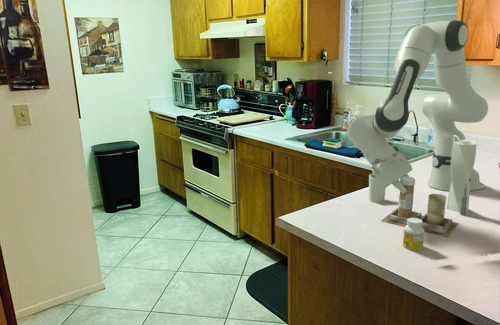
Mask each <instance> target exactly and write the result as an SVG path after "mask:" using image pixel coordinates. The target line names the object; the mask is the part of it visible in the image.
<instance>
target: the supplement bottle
mask: <svg viewBox="0 0 500 325" xmlns="http://www.w3.org/2000/svg"><path fill="white" fill-rule="evenodd" d="M403 228H404V229H403V239H402V240H403V241H402V246H403V248H405V249H406V250H409V251H413V252H420V251H422V250H423V248H424V241H425V232H424V229H423V227H422V220H420V219H418V218H409V219H407V225H406V226H405V227H403Z"/></svg>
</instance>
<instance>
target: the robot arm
mask: <svg viewBox="0 0 500 325" xmlns="http://www.w3.org/2000/svg"><path fill="white" fill-rule="evenodd" d="M468 40H469V28H468V25H467V24H466V23H465V22H464V21H462V20H456V19H453V20H439V21H438V20H437V21H433V22H427V23H423V24H415V25H413V26H411V27H410V28H408V30H406V33H405V34H404V38H403V40H402V42H401V44H400V46H399V48H398V51H397V53H396V56H395V59H394V64H393V73H394V74H395V78H394V80H393V83H392V86H391V88H390V90H389V93H388V95H387V97H386V98H385V99H384V100H383V101H381V103H380V104H378V106H377V108H376V110H375V112H374V113H373V112H372V113H369V114H357V115H356V116H355V117H354V118H352V119H351V121H350V122H348V125H347V127H346V133H347V135H348V137H349V139H350V141H351V142H352V143H353V144H354V146H355V147H356V148H357V149H358V150H360V151H361V152H362V154H363V156H364V159H366V160H367V162H368V163H369V165H370V168H371V171H372V174H374V176H375V177H376V179H377V180H378V182H379V183H380V184H381V185H382V186H383V187H384V188H388V187H390V185H392V186H393V187H394V188H396V189H397V190H399V192H400V191H401V192H402V193H405V192H407V191H408V189H407V188H406V186H403V185H402V184H401V183H400V178H401V177H410V176H409V175H408V174H409V173H411V171H413V167H412V165H411V163H410V162H409V160H408V159H407V158H406V157H405V156H404V155H403V153H401V149H400V148H399V147H398V146H396V145H392V144H389V143H388V141H387V140H389V139H392V138H394V137H396V136H397V135H399V133H400V131H401V130H402V128H404V126H406V124H407V123H408V121H409V116H410V112H409V111H410V110H409V100H410V97H411V94H412V92H413V88H414V86H415V84H416V81H417V80H419V79H421V78H422V76H423V75H424V72H425V71H426V69H427V68H428V66H429V63H430V60H431V58H432V55H433V58H432V59H433V68H434V77H435V78H434V79H435V80H434V81H435V84H436V85H437V86H438V87H439V88H441V89H442V90H443V91H444V92H446V93H443V92H442V93H440V92H439V93H434V94H428V95H427V96H426V97H425V98H424V100H423V101H422V105H421V110H422V113H423V115H424V116H425V117H426V118H427V119H428V120H429V122H430V123H431V125H432V127H433V131H434V152H433V153H432V167H431V172H430V176H429V178H428V181H427V186H428V187H431V188H433V189H435V190H441V191H445V192H447V191H448V192H449V190H450V185H451V181H452V179H451V155H452V147H453V136H454V135H456V136H458V138H459V139H460V140H466V137H465V136H466V135H464V133H463V132H462V131H460V130H459V129H458V128H457V127H456V125H455V122H456V123H463V124H466V123H467V124H470V123H471V124H472V123H479V122H481V121H483V120H484V119H485V118H486V116H487V115H488V112H489V104H488V102H487V100H486V98H484V97H482V96H481V95H480V94H478V92H476V91H475V89H474V88H473V86H472V85H471V83H470V80H469V77H468V72H467V64H466V63H467V61H466V52H465V45H466V44H467V42H468ZM458 138H457V137H455V142H459V141H458ZM480 181H481V180H480V174H479V172H478V170H476V169H475V168H473V171H472V174H471V176H470V179H469V192H470V191H477V190H478V191H479V190H483V189H486V185H485V184H484V183H482V182H480Z"/></svg>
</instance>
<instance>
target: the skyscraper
mask: <svg viewBox="0 0 500 325" xmlns="http://www.w3.org/2000/svg"><path fill="white" fill-rule="evenodd" d="M455 137H457V138H458V136H456V135H454V136H453V147H452V155H451V179H452V181H451V185H450V190H449V191H448V196H447V200H446V201H447V202H446V207H445V210H450V211H452V212H456V213H459V215H460V216H464V217H465V216H466V212H467V211H469V208H470V207H469V206H470V205H469V204H470V191H469V179H470V176H471V174H472V171H473V169H474V167H475V162H476V155H477V154H476V153H477V142H475V141H474V140H473V139H469V140H468V139H465V140H460V139H459V138H458V141H459V142H455Z"/></svg>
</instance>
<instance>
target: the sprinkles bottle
mask: <svg viewBox="0 0 500 325" xmlns="http://www.w3.org/2000/svg"><path fill="white" fill-rule="evenodd" d="M399 181H400V183H401V184H402V185H403V186H406V188H407V189H408V191H407V192H405V193H402V192H401V191H400V190H399V196H398V197H399V199H398V208H399V210H398V216H399V217H403V218H411V217H412V211H413V206H414V195H415V194H414V190H415V185H416V179H415V178H414V177H412V176H409V177H401V178H400V179H399Z"/></svg>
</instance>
